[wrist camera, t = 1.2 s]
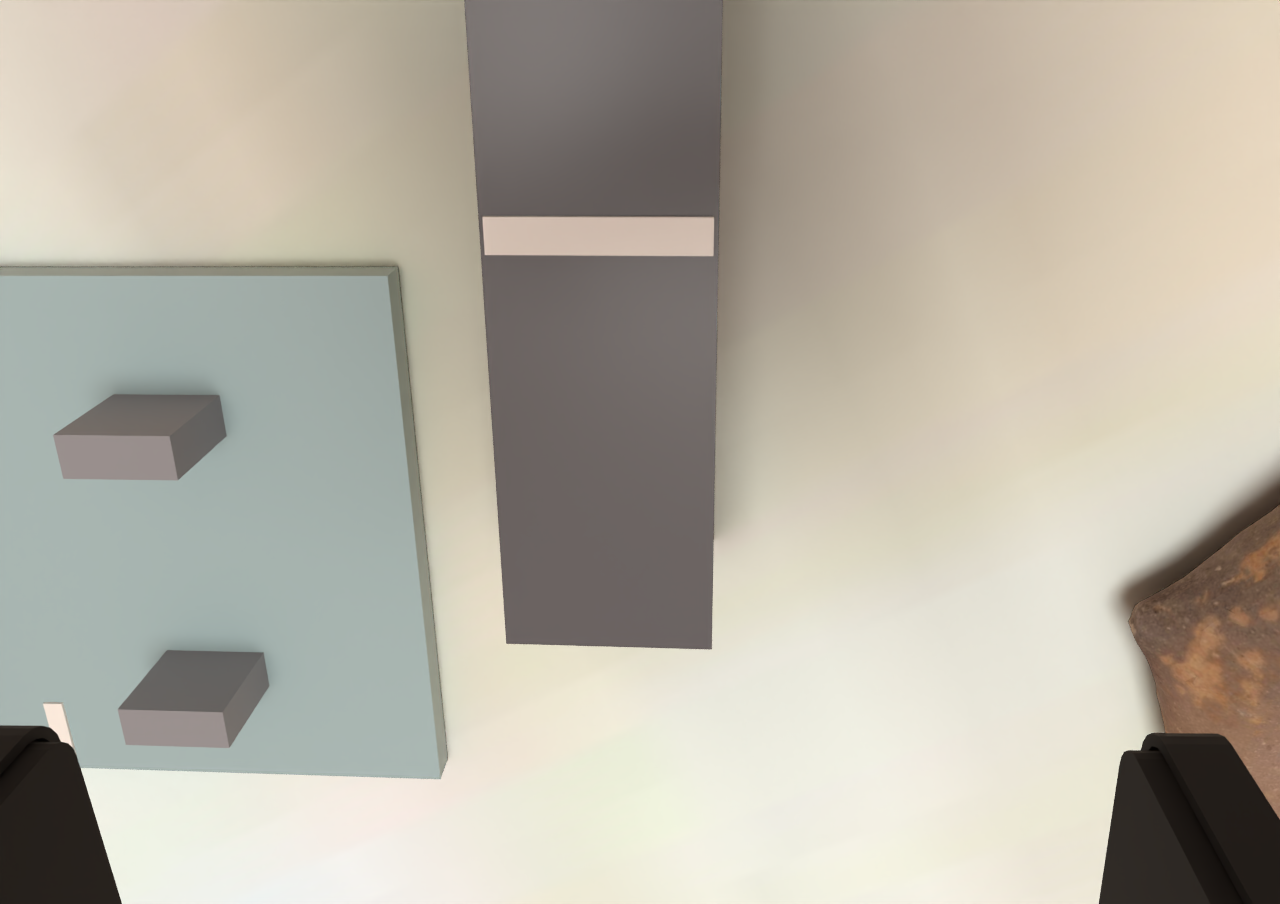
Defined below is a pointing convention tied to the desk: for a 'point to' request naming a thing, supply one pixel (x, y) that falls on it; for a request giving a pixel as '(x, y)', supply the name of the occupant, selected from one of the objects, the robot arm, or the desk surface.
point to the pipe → (1223, 649)
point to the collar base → (215, 521)
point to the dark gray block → (601, 310)
